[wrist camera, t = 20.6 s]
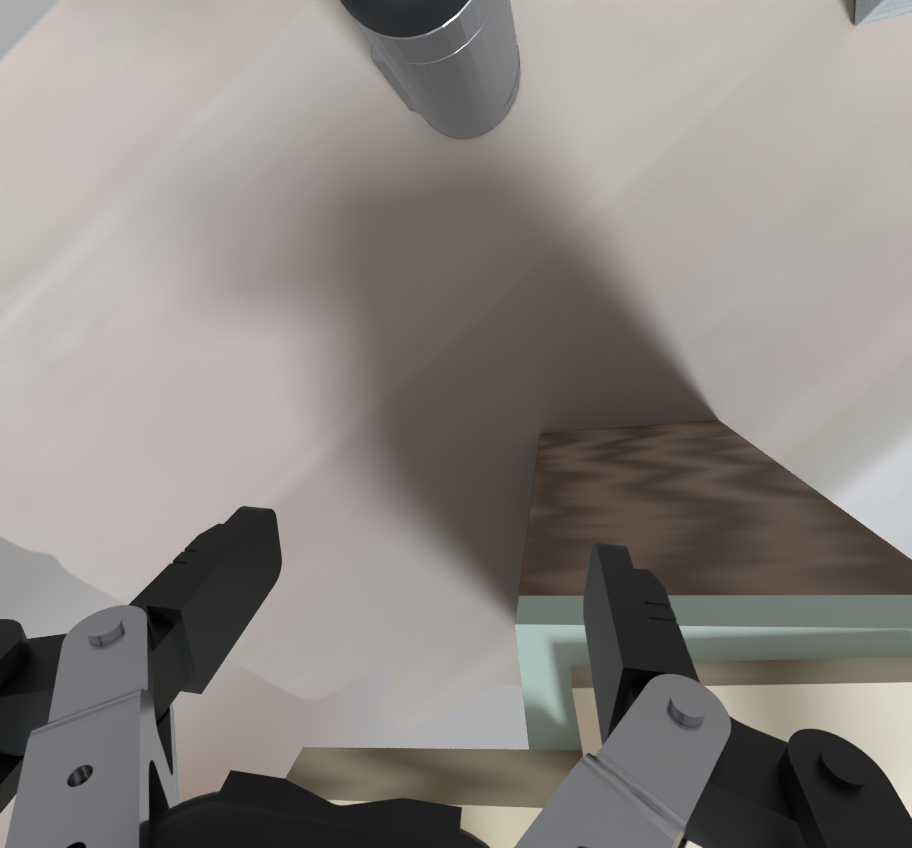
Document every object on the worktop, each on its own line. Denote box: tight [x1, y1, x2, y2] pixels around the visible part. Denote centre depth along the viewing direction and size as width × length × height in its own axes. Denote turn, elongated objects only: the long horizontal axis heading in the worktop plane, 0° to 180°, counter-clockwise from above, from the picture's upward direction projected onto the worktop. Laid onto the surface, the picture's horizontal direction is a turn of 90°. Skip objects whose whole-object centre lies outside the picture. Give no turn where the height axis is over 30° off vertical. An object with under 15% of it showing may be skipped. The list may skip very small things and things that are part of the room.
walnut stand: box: [515, 421, 912, 750], centre depth 35 cm, size 16×26×30 cm, turn 7°
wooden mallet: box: [285, 656, 912, 848], centre depth 19 cm, size 25×11×2 cm, turn 101°
